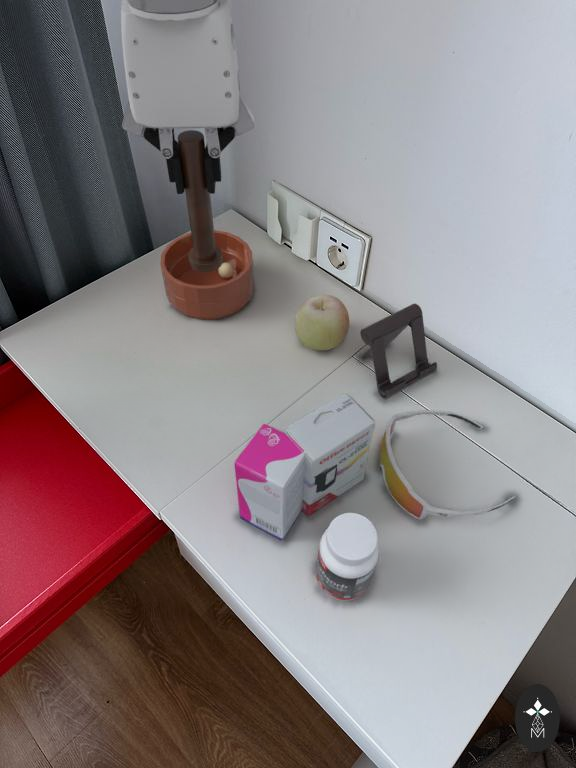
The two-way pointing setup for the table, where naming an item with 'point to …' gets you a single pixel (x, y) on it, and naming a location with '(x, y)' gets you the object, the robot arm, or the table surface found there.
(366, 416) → the ink box
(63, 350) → the table surface
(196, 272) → the bowl
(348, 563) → the pill bottle
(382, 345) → the tablet stand
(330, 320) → the fruit
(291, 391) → the table surface
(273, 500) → the supplement box
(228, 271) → the ball
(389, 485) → the sunglasses
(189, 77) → the robot arm
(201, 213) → the cylinder
